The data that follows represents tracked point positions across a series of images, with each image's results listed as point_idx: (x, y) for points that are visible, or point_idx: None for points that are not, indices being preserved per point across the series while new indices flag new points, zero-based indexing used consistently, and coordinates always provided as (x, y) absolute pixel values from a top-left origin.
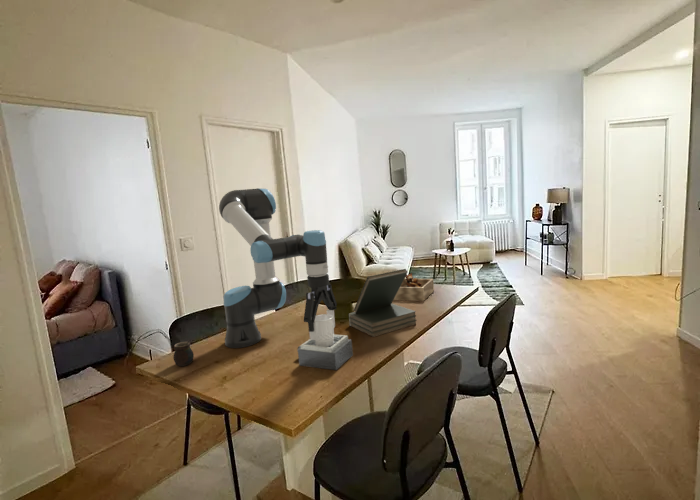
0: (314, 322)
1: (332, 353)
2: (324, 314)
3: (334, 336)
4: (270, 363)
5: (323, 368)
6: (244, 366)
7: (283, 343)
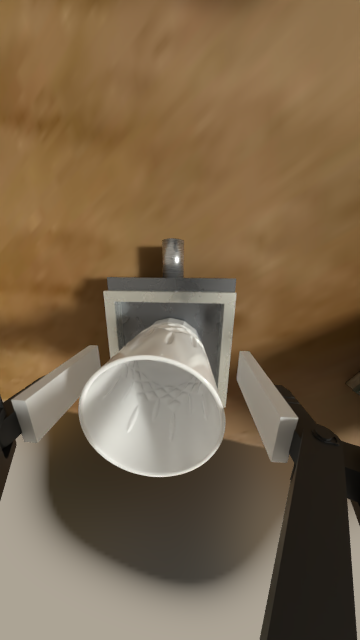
0: (25, 436)
1: None
2: (218, 409)
3: (218, 363)
4: (110, 175)
5: None
6: (61, 88)
7: (276, 87)
